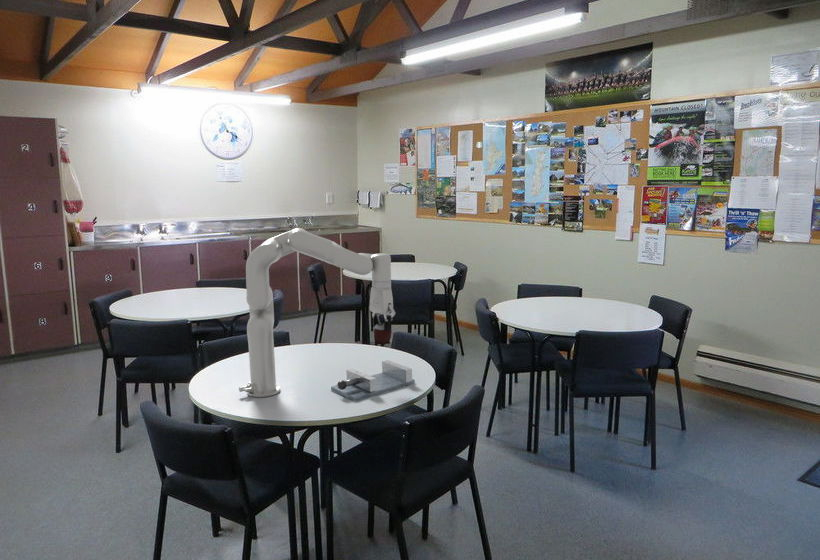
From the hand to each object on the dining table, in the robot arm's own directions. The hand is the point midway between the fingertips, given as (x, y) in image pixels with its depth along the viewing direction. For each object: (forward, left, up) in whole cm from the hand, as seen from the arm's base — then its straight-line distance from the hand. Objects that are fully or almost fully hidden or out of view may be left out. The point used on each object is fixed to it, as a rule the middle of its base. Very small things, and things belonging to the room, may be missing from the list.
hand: (382, 328), depth 232 cm
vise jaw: (-16, 0, -21) cm, 26 cm away
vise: (-5, 0, -23) cm, 24 cm away
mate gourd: (0, 0, -7) cm, 7 cm away
